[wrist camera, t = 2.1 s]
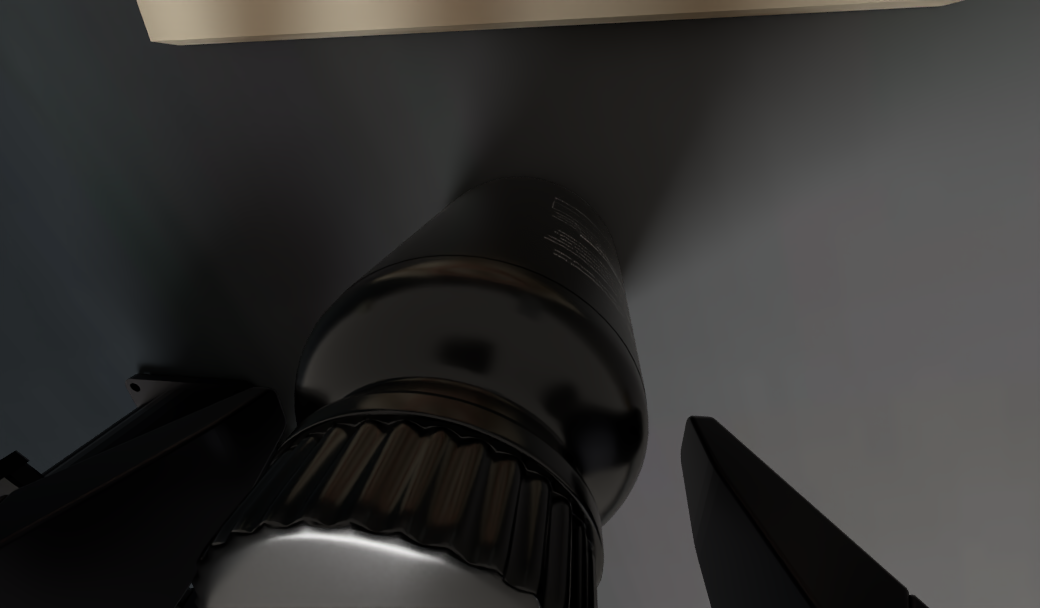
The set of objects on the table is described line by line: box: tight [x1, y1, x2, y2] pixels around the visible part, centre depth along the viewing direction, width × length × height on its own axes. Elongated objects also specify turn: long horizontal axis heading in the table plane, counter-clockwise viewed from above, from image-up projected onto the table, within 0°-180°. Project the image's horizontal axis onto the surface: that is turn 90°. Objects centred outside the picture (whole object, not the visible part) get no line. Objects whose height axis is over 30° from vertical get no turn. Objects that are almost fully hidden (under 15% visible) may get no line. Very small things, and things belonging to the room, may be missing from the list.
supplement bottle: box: [192, 177, 648, 608], centre depth 10 cm, size 7×7×12 cm
